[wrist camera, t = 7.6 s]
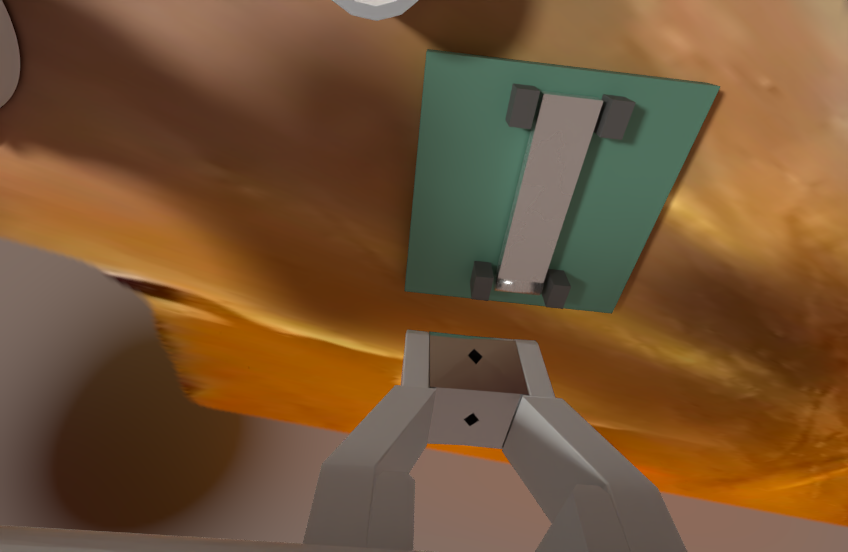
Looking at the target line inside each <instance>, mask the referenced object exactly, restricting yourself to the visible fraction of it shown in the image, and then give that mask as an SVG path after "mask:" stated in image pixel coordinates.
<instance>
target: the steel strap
mask: <svg viewBox="0 0 848 552" xmlns="http://www.w3.org/2000/svg"><path fill="white" fill-rule="evenodd" d="M602 104H603V100H601V99H600V98H598V97H590V96H581V95H573V94H564V93H556V92H548V91H540V94H539V98H538V102H537V106H536V110H535V114H534V118H533V122H532V127H531V131H530V135H529V139H528V143H527V147H526V151H525V155H524V159H523V163H522V168H521V172H520V176H519V180H518V184H517V188H516V192H515V196H514V200H513V204H512V209H511V213H510V217H509V221H508V225H507V229H506V233H505V237H504V241H503V245H502V250H501V254H500V258H499V262H498V266H497V270H496V272H495V275H494V281H493V288H494V291H503V292H512V293H522V294H531V295H540V294H541V293H542V290H543V283H544V280H545V277H546V274H547V271H548V268H549V265H550V261H551V258H552V255H553V252H554V249H555V246H556V243H557V240H558V237H559V234H560V231H561V228H562V225H563V222H564V219H565V216H566V213H567V210H568V207H569V204H570V201H571V198H572V195H573V192H574V189H575V186H576V183H577V180H578V177H579V174H580V171H581V168H582V165H583V162H584V159H585V156H586V153H587V150H588V147H589V144H590V141H591V137H592V134H593V131H594V128H595V125H596V122H597V119H598V116H599V113H600V110H601V107H602Z"/></svg>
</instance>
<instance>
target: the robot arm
mask: <svg viewBox="0 0 848 552" xmlns="http://www.w3.org/2000/svg"><path fill="white" fill-rule="evenodd" d="M19 74H20V54H19V47H18V42H17V38H16V34H15V31H14V28H13V25H12V22H11V19H10V17H9V14H8V12H7V10H6V8H5V5H4V3H3V1H2V0H0V107H2V106H3V105H4V104H5V103H6V102H7V101H8V100H9V99H10V98H11V96H12V95H13V93H14V91H15V89H16V87H17V84H18V80H19ZM427 443H430V444H452V445H468V446H478V447H488V448H498V449H503V450H502V451H503V453H504V454H505V456H506V457H507V459H508V460H509V462H510V463H511V465H512V466H513V467H514V469H515V470H516V472H517V473H518V475H519V476H520V478H521V479H522V481H523V482H524V484H525V485H526V486H527V488H528V489H529V491H530V492H531V494H532V495H533V497H534V498H535V499H536V501H537V503H538V504H539V505H540V507H541V508H542V510H543V511H544V513H545V514H546V516H547V517H548V519H549V520H550V521H551V523H552V525H551V526H550V528H549V530H548V531H547V533H546V534H545V536H544V538H543V539H542V541H541V543H540V544H539V546H538V548H537V549H536V551H535V552H687V550H686V548H685V546H684V544H683V541H682V539H681V537H680V535H679V533H678V531H677V529H676V526H675V524H674V522H673V520H672V518H671V516H670V513H669V511H668V509H667V507H666V505H665V503H664V501H663V498H662V496H661V494H660V492H659V490H658V488H657V487H656V486H655V485H654V484H653V483H652V482H650V481H649V480H648V479H647V478H646V477H645V476H644V475H643V474H642V473H641V472H640V471H639V470H638V469H637V468H636V467H635V466H633V465H632V464H631V463H630V462H629V461H628V460H627V459H626V458H625V457H624V456H623V455H622V454H621V453H620V452H619V451H617V450H616V449H615V448H614V447H613V446H612V445H611V444H610V443H609V442H608V441H607V440H606V439H605V438H604V437H603V436H602V435H600V434H599V433H598V432H597V431H596V430H595V429H594V428H593V427H592V426H591V425H590V424H589V423H588V422H587V421H586V420H585V419H583V418H582V417H581V416H580V415H579V414H578V413H577V412H576V411H575V410H574V409H573V408H572V407H571V406H570V405H569V404H567V403H566V402H565V401H564V400H563V399H561V398H555V395H554V392H553V388H552V385H551V382H550V379H549V376H548V373H547V370H546V367H545V364H544V361H543V357H542V354H541V351H540V348H539V345H538V343H537V342H536V341H533V340H519V339H513V340H512V339H502V338H489V337H477V336H465V335H456V334H447V333H438V332H429V333H428V332H424V331H415V330H407V332H406V339H405V349H404V358H403V368H402V377H401V386H399V385H395V386H394V387H393V388H392V389H391V391H390V392H389V393H388V394H387V395H386V396H385V397H384V398H383V399H382V400H381V401H380V402H379V403H378V404H377V406H376V407H375V408H374V409H373V410H372V411H371V412H370V413H369V414H368V415H367V416H366V417H365V418H364V419H363V421H362V422H361V423H360V424H359V425H358V426H357V427H356V428H355V429H354V430H353V431H352V432H351V433H350V434H349V436H348V437H347V438H346V439H345V440H344V441H343V442H342V443H341V444H340V445H339V446H338V447H337V448H336V450H335V451H334V452H333V453H332V454H331V455H330V456H329V457H328V458H327V459H326V460H325V461H324V463H322V466H321V470H320V474H319V478H318V483H317V487H316V491H315V495H314V499H313V503H312V508H311V511H310V516H309V520H308V524H307V528H306V532H305V536H304V540H303V544H300V543H284V542H267V541H250V540H234V539H218V538H201V537H184V536H168V535H152V534H151V535H150V534H136V533H134V534H133V533H119V532H103V531H86V530H69V529H52V528H37V527H20V526H3V525H0V552H430V551H416V550H413V539H414V538H413V537H414V498H415V496H414V495H415V480H414V479H413V478H412V477H411V476H410V475H409V472H410V471H411V469H412V468H413V466H414V465H415V463H416V461H417V460H418V458H419V457H420V455H421V454H422V452H423V451H424V449H425V447H426V446H427Z"/></svg>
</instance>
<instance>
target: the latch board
mask: <svg viewBox="0 0 848 552" xmlns="http://www.w3.org/2000/svg"><path fill="white" fill-rule="evenodd" d="M719 88H720V86H717V85H713V84H710V83H704V82H696V81H688V80H679V79H671V78H663V77H654V76H646V75H638V74H629V73H621V72H613V71H605V70H596V69H588V68H580V67H571V66H563V65H555V64H546V63H538V62H530V61H522V60H513V59H505V58H497V57H488V56H480V55H472V54H463V53H455V52H447V51H439V50H430V49H427V52H426V63H425V74H424V85H423V96H422V107H421V118H420V128H419V139H418V150H417V161H416V172H415V183H414V194H413V205H412V216H411V226H410V237H409V248H408V259H407V270H406V281H405V291H407V292H417V293H426V294H435V295H445V296H454V297H463V298H471V299H476V300H486V301H488V300H491V301H501V302H510V303H519V304H529V305H538V306H546V307H551V308H560V309H563V308H566V309H576V310H585V311H594V312H604V313H612V312H613V310H614V308H615V306H616V304H617V302H618V300H619V298H620V296H621V293H622V291H623V289H624V287H625V285H626V283H627V281H628V279H629V277H630V275H631V273H632V270H633V268H634V266H635V264H636V262H637V260H638V258H639V256H640V254H641V252H642V250H643V247H644V245H645V243H646V241H647V239H648V237H649V235H650V233H651V231H652V229H653V227H654V224H655V222H656V220H657V218H658V216H659V214H660V212H661V210H662V208H663V206H664V204H665V201H666V199H667V197H668V195H669V193H670V191H671V189H672V187H673V185H674V183H675V181H676V178H677V176H678V174H679V172H680V170H681V168H682V166H683V164H684V162H685V160H686V158H687V155H688V153H689V151H690V149H691V147H692V145H693V143H694V141H695V139H696V137H697V134H698V132H699V130H700V128H701V126H702V124H703V122H704V120H705V118H706V116H707V114H708V111H709V109H710V107H711V105H712V103H713V101H714V99H715V97H716V95H717V93H718V91H719ZM540 91H548V92H556V93H564V94H573V95H581V96H590V97H598V98H600V99H601V100H603V104H602V107H601V110H600V113H599V116H598V119H597V122H596V125H595V128H594V131H593V134H592V137H591V141H590V144H589V147H588V150H587V153H586V156H585V159H584V162H583V165H582V168H581V171H580V174H579V177H578V180H577V183H576V186H575V189H574V192H573V195H572V198H571V201H570V204H569V207H568V210H567V213H566V216H565V219H564V222H563V225H562V228H561V231H560V234H559V237H558V240H557V243H556V246H555V249H554V252H553V255H552V258H551V261H550V265H549V268H548V271H547V274H546V277H545V280H544V283H543V290H542V293H541V294H540V295H531V294H522V293H512V292H503V291H494V288H493V281H494V275H495V272H496V270H497V266H498V262H499V258H500V254H501V250H502V245H503V241H504V237H505V233H506V229H507V225H508V221H509V217H510V213H511V209H512V204H513V200H514V196H515V192H516V188H517V184H518V180H519V176H520V172H521V168H522V163H523V159H524V155H525V151H526V147H527V143H528V139H529V135H530V131H531V127H532V122H533V118H534V114H535V110H536V106H537V102H538V98H539V94H540Z"/></svg>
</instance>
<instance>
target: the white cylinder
mask: <svg viewBox="0 0 848 552" xmlns="http://www.w3.org/2000/svg"><path fill="white" fill-rule="evenodd" d="M332 1H334V2H335V3H336V4H338V5H339V6H340V7H342V8H343V9H344V10H346V11H347V12H348V13H350V14H351V15H354V16H358V17H363V18H367V19H371V20H376V21H378V20H382V19H386V18H390V17H394V16H398V15H402V14H403V13H404V12H405V11H406V10H408V9H409V8H410V7H411V6H412V5H414V4H415V3H416V2H417V1H418V0H332Z"/></svg>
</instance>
